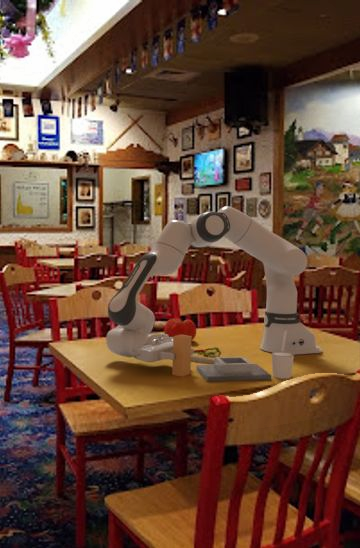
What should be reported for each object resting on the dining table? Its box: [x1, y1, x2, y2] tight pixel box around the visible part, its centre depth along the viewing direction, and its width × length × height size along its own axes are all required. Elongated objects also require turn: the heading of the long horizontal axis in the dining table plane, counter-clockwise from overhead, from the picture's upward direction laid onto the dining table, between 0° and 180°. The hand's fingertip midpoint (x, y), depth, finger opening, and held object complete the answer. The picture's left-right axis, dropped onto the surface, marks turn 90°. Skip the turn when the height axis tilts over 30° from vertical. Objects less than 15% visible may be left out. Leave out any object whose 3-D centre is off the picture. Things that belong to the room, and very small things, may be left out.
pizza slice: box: [191, 347, 221, 365], centre depth 224 cm, size 16×21×3 cm
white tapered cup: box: [271, 352, 295, 379], centre depth 200 cm, size 7×7×7 cm
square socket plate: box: [195, 356, 272, 383], centre depth 200 cm, size 20×14×4 cm
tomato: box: [163, 317, 197, 341], centre depth 248 cm, size 13×12×8 cm
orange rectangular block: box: [171, 335, 192, 378], centre depth 198 cm, size 4×4×12 cm
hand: (183, 354), depth 198 cm, fingers open, 8 cm apart
